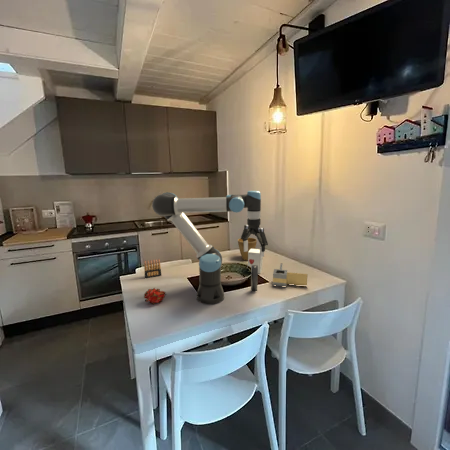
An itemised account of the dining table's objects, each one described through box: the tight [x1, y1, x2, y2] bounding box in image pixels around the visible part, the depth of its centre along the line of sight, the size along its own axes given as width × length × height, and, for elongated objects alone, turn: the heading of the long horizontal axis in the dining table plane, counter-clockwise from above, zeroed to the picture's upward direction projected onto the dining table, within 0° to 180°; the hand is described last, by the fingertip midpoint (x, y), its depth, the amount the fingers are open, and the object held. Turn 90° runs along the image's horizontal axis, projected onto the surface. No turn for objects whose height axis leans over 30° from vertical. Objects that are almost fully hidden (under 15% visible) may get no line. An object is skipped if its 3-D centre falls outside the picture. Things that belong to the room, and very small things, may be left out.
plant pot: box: [237, 237, 258, 262], centre depth 210 cm, size 15×15×16 cm
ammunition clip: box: [143, 258, 162, 279], centre depth 176 cm, size 11×2×12 cm, turn 115°
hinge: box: [272, 263, 308, 287], centre depth 169 cm, size 20×20×8 cm
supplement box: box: [247, 248, 264, 275], centre depth 185 cm, size 9×9×15 cm
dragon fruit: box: [143, 287, 167, 305], centre depth 142 cm, size 8×8×12 cm
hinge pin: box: [250, 265, 259, 292], centre depth 155 cm, size 4×4×15 cm
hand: (253, 254), depth 156 cm, fingers open, 13 cm apart
